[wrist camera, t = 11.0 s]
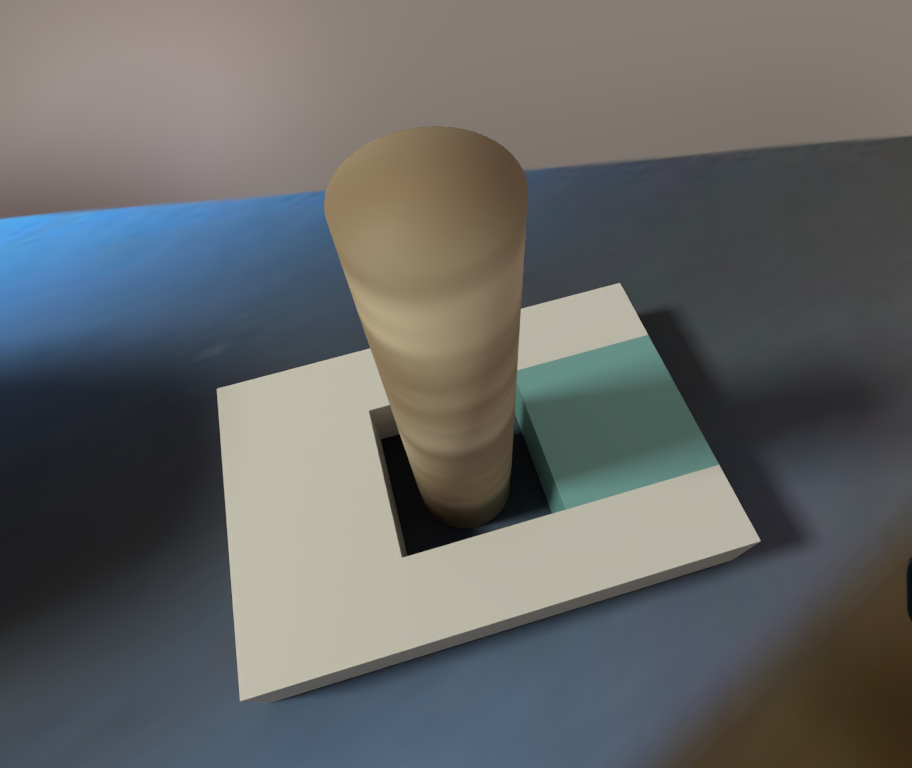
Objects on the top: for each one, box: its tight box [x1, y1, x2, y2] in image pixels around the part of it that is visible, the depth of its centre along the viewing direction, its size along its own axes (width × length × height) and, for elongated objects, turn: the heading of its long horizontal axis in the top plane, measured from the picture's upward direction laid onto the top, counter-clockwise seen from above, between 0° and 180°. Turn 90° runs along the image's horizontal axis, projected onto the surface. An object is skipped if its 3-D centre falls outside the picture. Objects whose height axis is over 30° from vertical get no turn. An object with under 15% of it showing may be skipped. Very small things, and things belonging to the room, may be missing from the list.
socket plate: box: [217, 283, 761, 703], centre depth 21 cm, size 16×11×2 cm, turn 105°
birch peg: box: [324, 126, 528, 529], centre depth 16 cm, size 3×3×14 cm
